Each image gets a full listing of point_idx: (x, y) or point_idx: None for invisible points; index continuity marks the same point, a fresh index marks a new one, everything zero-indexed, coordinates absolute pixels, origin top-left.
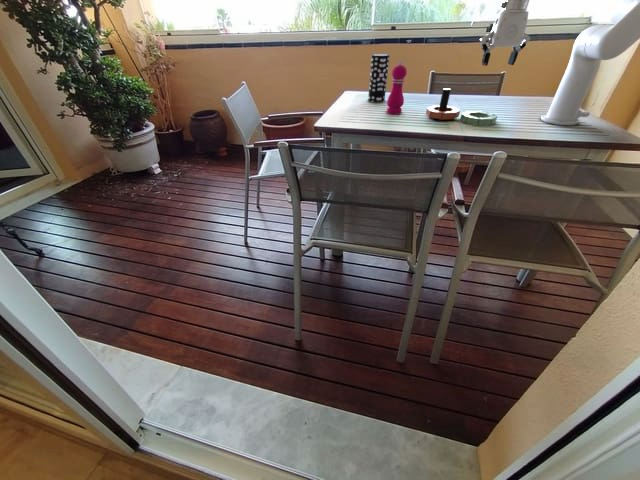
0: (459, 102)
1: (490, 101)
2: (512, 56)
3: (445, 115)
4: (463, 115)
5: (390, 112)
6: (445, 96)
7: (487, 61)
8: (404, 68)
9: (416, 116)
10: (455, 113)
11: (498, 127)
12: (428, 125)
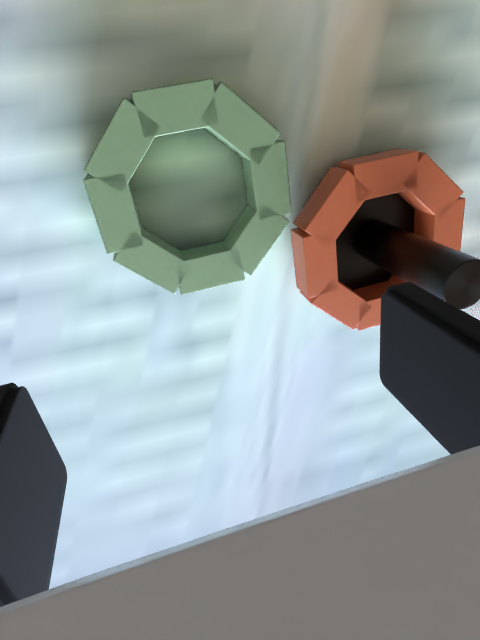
0: (206, 522)
1: (52, 580)
2: (18, 508)
3: (394, 153)
4: (288, 183)
5: None
6: (447, 247)
7: (427, 301)
8: None
9: (469, 239)
10: (344, 170)
11: (81, 49)
12: (476, 60)
